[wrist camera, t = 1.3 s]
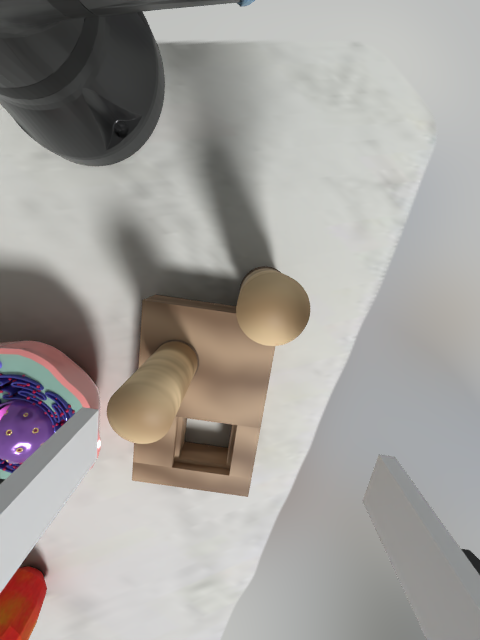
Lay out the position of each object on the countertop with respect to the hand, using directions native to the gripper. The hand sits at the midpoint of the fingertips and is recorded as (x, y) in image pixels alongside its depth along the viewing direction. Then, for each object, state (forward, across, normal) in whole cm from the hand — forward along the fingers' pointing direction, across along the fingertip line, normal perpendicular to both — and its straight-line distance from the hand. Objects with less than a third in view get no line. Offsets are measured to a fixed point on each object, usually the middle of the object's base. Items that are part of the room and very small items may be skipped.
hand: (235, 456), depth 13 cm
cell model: (+20, -22, -12) cm, 32 cm away
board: (+20, -3, -8) cm, 21 cm away
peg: (+20, +1, +6) cm, 21 cm away
